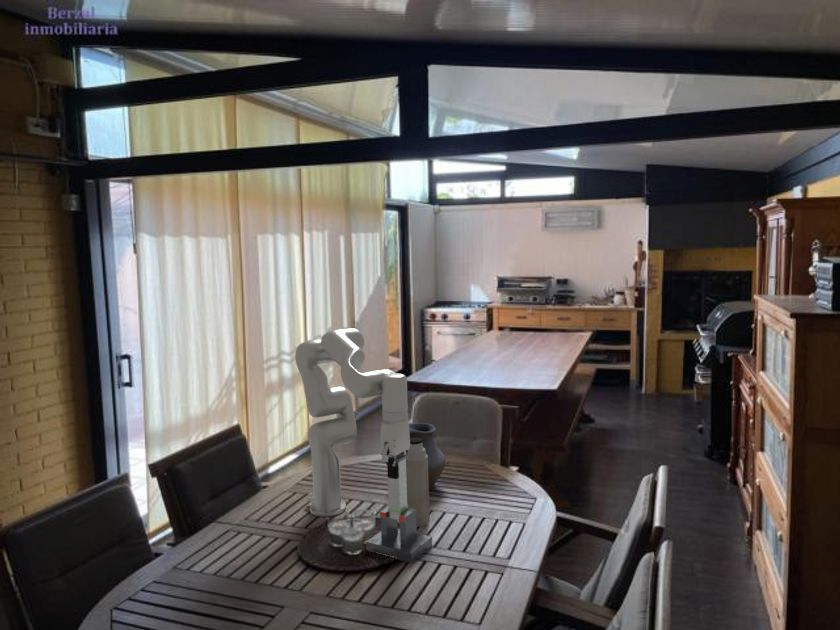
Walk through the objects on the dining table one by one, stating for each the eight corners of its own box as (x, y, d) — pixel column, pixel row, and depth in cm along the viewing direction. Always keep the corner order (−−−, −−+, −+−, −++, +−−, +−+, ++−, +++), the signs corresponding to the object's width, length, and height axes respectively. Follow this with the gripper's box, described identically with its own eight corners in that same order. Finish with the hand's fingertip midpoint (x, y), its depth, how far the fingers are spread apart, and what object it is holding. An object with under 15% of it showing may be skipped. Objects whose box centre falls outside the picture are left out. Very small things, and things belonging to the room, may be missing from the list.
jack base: (366, 551, 189) (364, 512, 188) (388, 535, 199) (387, 498, 198) (411, 563, 181) (410, 523, 180) (432, 546, 191) (431, 508, 190)
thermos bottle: (431, 517, 212) (429, 436, 209) (427, 527, 204) (424, 443, 201) (408, 515, 213) (405, 435, 211) (403, 525, 206) (400, 442, 203)
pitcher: (456, 483, 242) (455, 419, 240) (426, 502, 224) (424, 434, 222) (411, 474, 253) (409, 413, 251) (379, 492, 235) (377, 427, 233)
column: (387, 518, 188) (385, 457, 186) (396, 512, 192) (394, 452, 190) (400, 521, 186) (398, 459, 184) (409, 515, 190) (407, 454, 188)
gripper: (399, 407, 195) (401, 465, 197) (368, 421, 181) (370, 482, 182) (420, 410, 191) (422, 468, 193) (390, 424, 177) (392, 487, 179)
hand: (397, 474), depth 188 cm, fingers closed on column, 4 cm apart
